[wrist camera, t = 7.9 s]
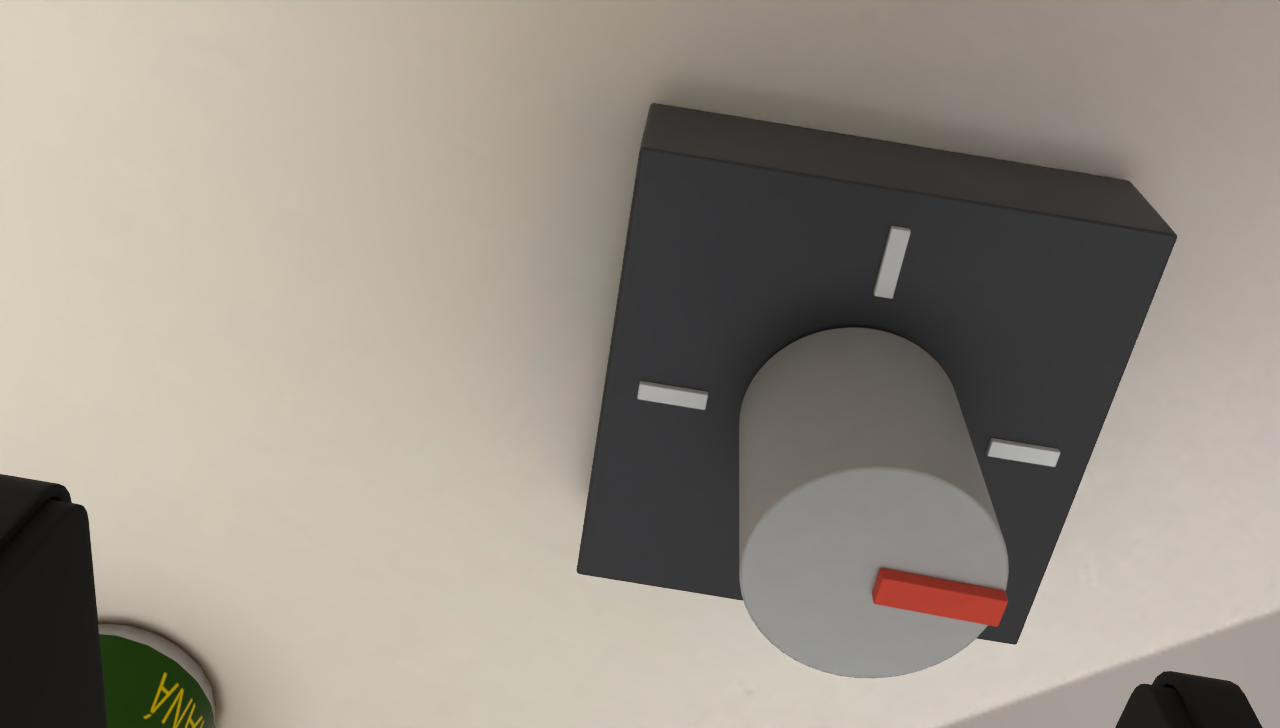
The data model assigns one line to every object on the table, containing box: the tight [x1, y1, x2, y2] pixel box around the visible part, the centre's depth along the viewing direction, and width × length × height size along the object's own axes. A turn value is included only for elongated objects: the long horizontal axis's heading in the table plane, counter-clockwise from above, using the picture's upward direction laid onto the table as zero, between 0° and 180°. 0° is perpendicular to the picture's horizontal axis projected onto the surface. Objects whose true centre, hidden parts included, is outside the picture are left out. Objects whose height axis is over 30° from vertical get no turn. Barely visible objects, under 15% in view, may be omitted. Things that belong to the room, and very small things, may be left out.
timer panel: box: [577, 103, 1177, 644], centre depth 25 cm, size 10×10×3 cm
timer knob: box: [739, 327, 1009, 678], centre depth 21 cm, size 4×4×5 cm
